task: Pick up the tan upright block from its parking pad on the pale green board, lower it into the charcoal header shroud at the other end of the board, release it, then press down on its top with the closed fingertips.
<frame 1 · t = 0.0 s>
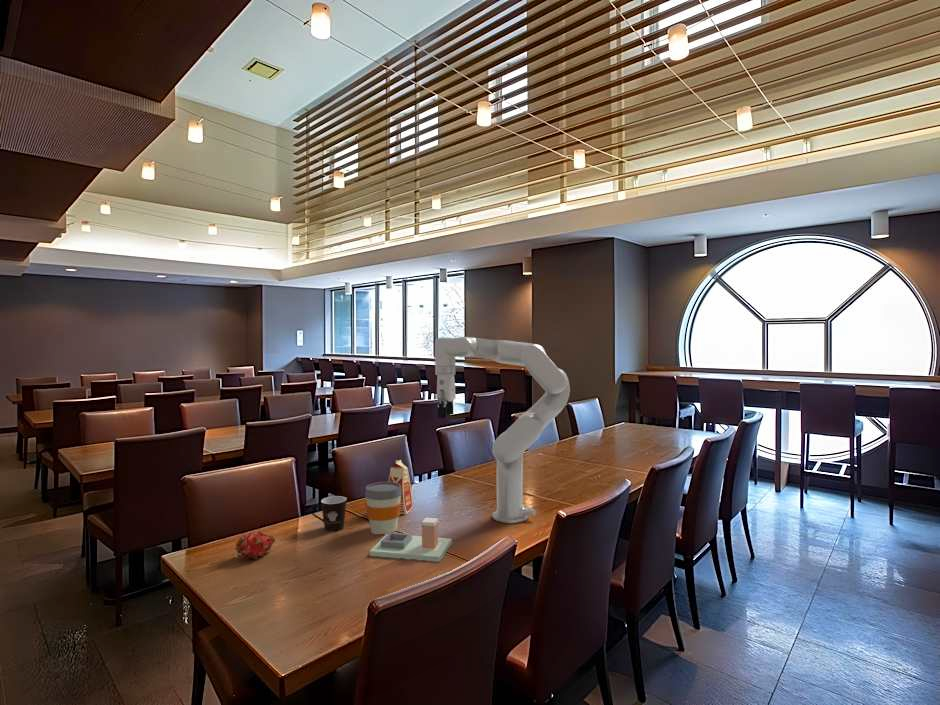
hand: (445, 416, 189), 37 cm above the table, tool pointing down, fingers open, 9 cm apart
reusable coffee cup: (383, 530, 174), on the table
board: (411, 549, 157), on the table
milk carton: (398, 510, 194), on the table
coffee mug: (330, 528, 176), on the table
tan upright block: (430, 545, 156), point 2 cm above the table, touching board
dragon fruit: (255, 557, 153), on the table
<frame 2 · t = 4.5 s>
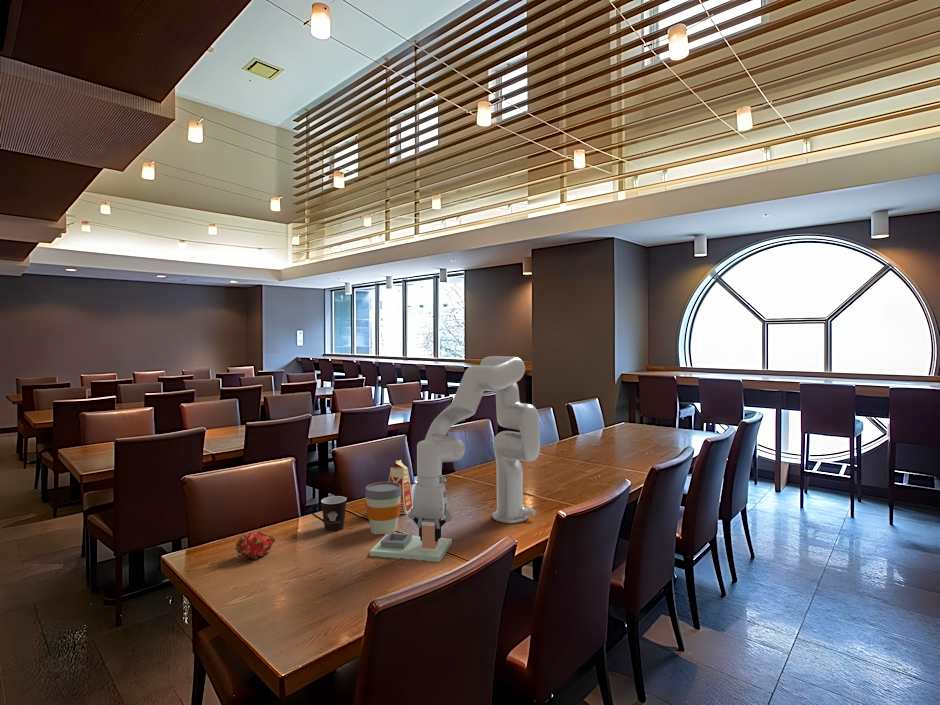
hand: (430, 539, 156), 4 cm above the table, tool pointing down, fingers closed on tan upright block, 4 cm apart
tan upright block: (430, 545, 156), point 2 cm above the table, touching board, gripper
everything else where it was.
when the fingers open (5 cm above the table, at t = 8.8 s): tan upright block drops 1 cm, resting on board.
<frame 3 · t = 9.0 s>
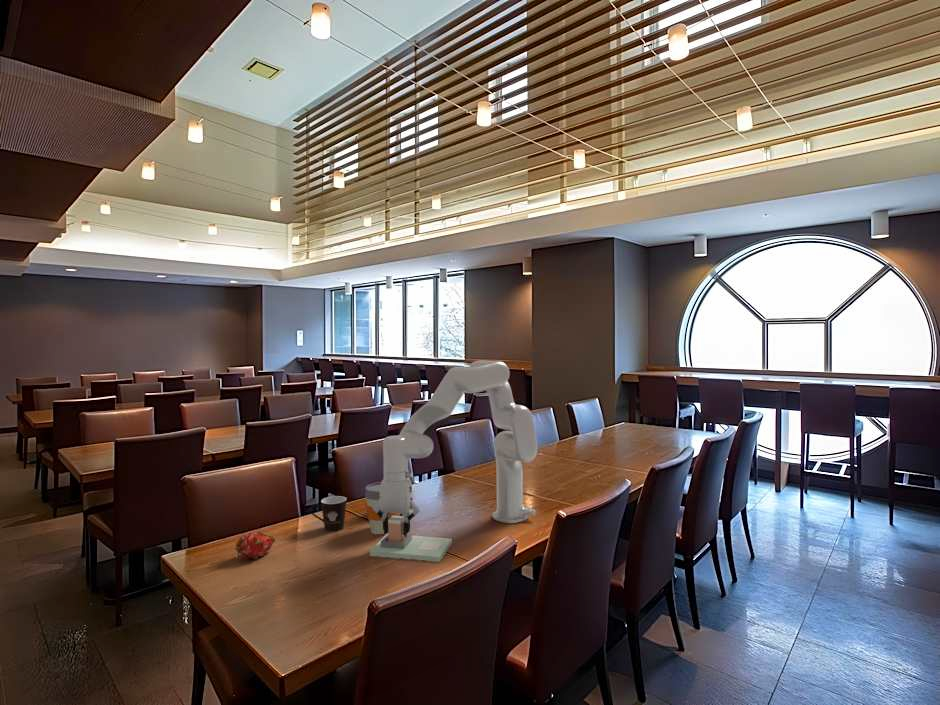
hand: (396, 532, 158), 5 cm above the table, tool pointing down, fingers open, 5 cm apart
tan upright block: (396, 543, 158), point 1 cm above the table, touching board
everything else where it was.
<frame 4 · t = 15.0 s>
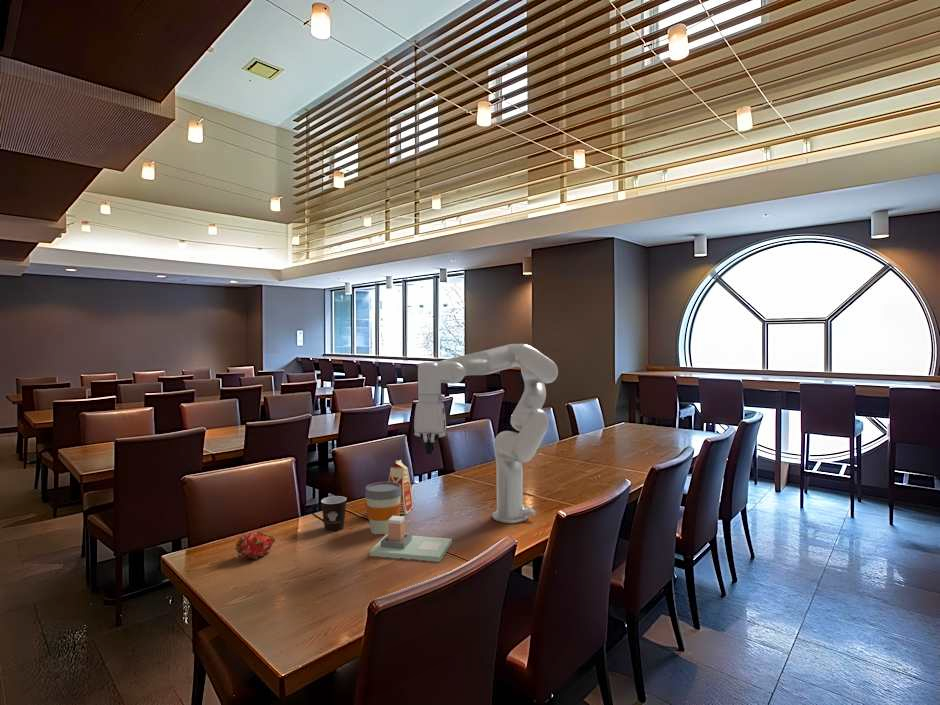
hand: (430, 453, 170), 27 cm above the table, tool pointing down, fingers closed
nothing on the table moved.
at the end: tan upright block 0.1 cm from the target spot on the board, point 1.5 cm above the board's base; tan upright block tilted 0°; the gripper is holding nothing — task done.
